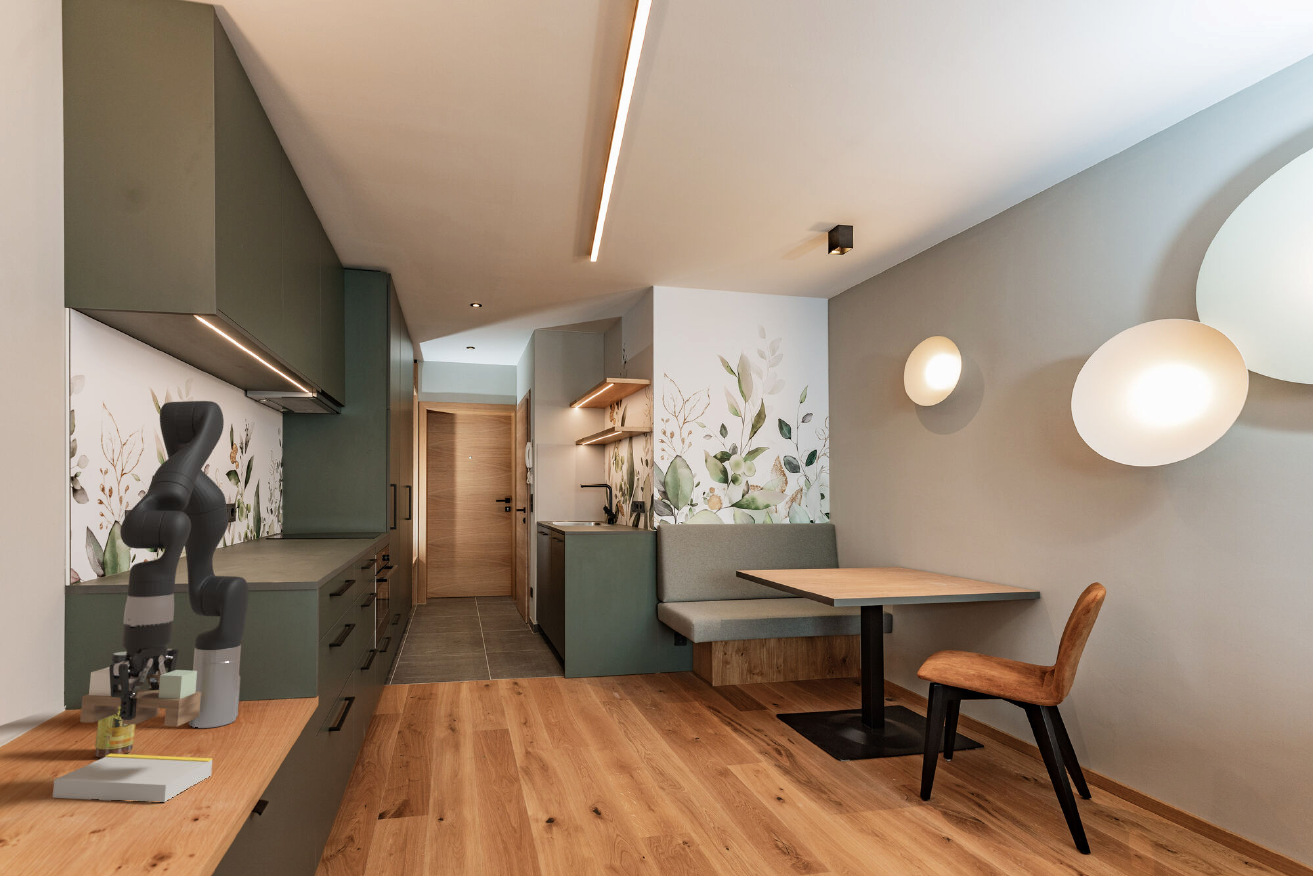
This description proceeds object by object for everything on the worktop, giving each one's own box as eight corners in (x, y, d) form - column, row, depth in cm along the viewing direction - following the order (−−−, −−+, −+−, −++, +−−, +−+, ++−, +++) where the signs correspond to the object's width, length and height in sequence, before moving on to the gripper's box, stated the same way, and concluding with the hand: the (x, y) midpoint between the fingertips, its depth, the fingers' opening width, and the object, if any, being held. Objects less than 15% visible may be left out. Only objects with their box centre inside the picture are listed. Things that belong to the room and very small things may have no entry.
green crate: (174, 692, 132) (176, 669, 132) (195, 693, 132) (197, 670, 132) (158, 698, 128) (160, 675, 128) (179, 699, 128) (181, 676, 128)
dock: (108, 771, 135) (110, 753, 136) (211, 776, 134) (212, 758, 135) (52, 797, 124) (54, 778, 124) (164, 803, 123) (166, 783, 123)
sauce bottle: (111, 761, 140) (120, 657, 142) (85, 757, 142) (95, 655, 143) (142, 749, 147) (150, 651, 148) (116, 746, 148) (125, 648, 150)
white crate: (106, 689, 133) (108, 667, 133) (127, 690, 133) (129, 668, 133) (88, 695, 129) (91, 672, 129) (110, 696, 129) (112, 673, 129)
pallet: (105, 712, 133) (107, 687, 134) (199, 716, 132) (200, 691, 133) (80, 721, 128) (82, 696, 128) (177, 726, 127) (179, 700, 127)
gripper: (158, 612, 139) (150, 702, 137) (97, 625, 124) (88, 725, 123) (195, 614, 138) (188, 703, 137) (138, 627, 124) (129, 727, 123)
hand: (141, 713), depth 130 cm, fingers closed on pallet, 5 cm apart
